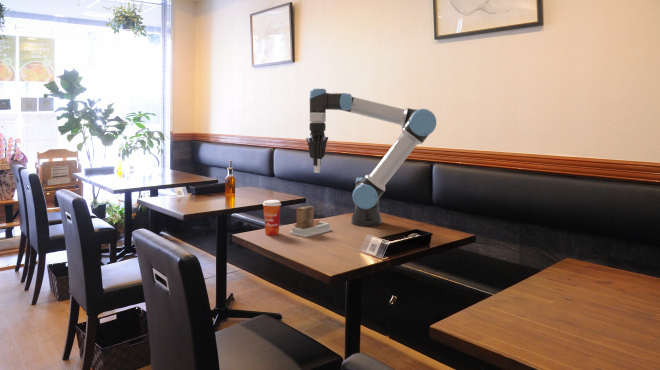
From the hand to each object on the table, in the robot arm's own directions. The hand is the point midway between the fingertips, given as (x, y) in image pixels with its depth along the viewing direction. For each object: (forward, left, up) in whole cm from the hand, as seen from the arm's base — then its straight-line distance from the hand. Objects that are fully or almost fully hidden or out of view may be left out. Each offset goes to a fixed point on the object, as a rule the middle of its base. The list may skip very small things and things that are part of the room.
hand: (317, 172), depth 230 cm
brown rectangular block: (+13, +5, -25) cm, 29 cm away
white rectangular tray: (+9, +5, -26) cm, 28 cm away
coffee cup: (+24, -5, -27) cm, 36 cm away
